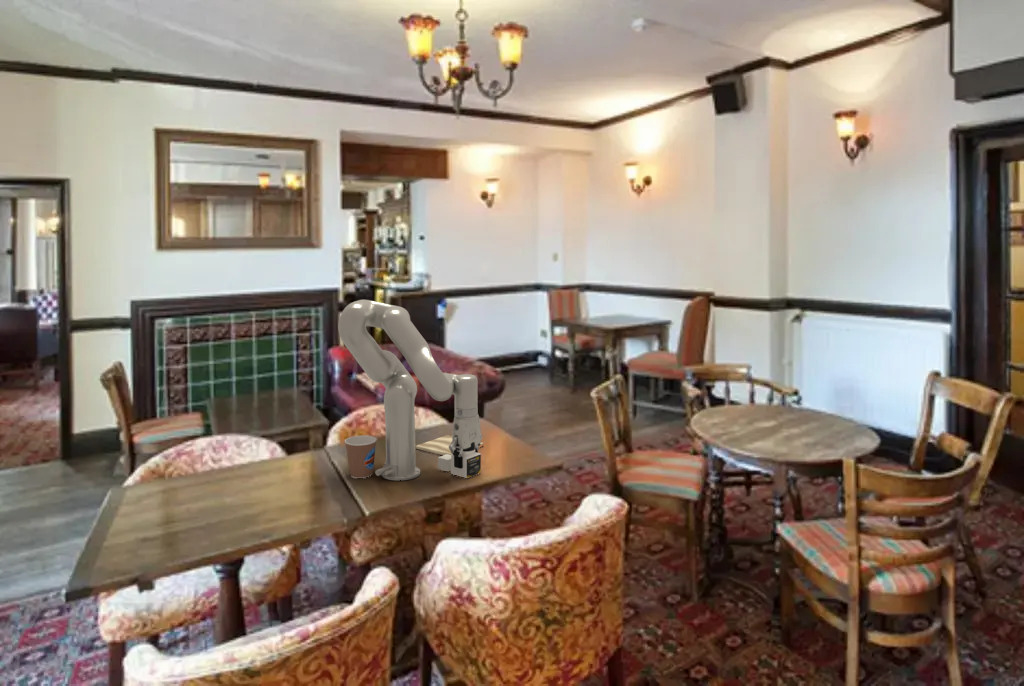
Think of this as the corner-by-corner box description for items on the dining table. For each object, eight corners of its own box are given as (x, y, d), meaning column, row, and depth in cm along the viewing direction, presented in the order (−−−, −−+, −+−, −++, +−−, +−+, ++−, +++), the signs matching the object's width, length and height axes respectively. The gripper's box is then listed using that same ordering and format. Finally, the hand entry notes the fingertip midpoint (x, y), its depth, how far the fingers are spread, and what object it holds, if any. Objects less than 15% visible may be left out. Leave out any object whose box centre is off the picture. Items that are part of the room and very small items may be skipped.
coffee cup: (369, 481, 204) (369, 445, 202) (339, 479, 206) (338, 443, 204) (382, 471, 214) (381, 436, 212) (353, 468, 216) (353, 434, 214)
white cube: (448, 472, 213) (448, 459, 213) (438, 470, 216) (438, 457, 215) (456, 469, 217) (456, 456, 216) (446, 466, 219) (446, 454, 219)
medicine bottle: (467, 479, 207) (467, 443, 205) (450, 474, 211) (450, 439, 209) (481, 473, 212) (481, 438, 211) (464, 469, 217) (465, 434, 215)
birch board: (452, 458, 228) (452, 454, 228) (415, 449, 238) (415, 445, 238) (483, 446, 242) (483, 442, 242) (447, 438, 253) (447, 434, 252)
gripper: (457, 419, 200) (458, 473, 202) (491, 408, 214) (490, 459, 216) (439, 415, 204) (440, 469, 206) (473, 405, 218) (473, 455, 220)
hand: (466, 464), depth 211 cm, fingers closed on medicine bottle, 7 cm apart
